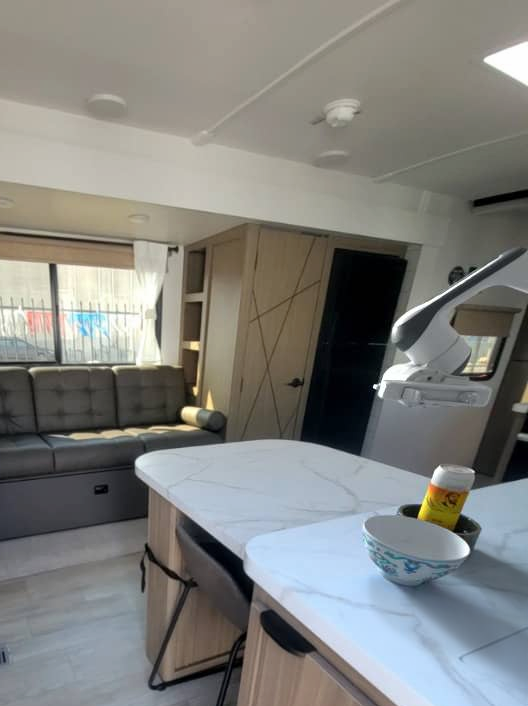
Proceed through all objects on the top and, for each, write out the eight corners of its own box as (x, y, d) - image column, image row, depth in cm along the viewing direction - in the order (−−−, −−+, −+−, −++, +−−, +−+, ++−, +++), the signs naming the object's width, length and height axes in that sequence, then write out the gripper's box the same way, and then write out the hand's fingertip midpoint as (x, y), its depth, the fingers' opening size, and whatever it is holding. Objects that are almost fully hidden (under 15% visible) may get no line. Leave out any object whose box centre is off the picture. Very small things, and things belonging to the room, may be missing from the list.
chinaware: (378, 600, 63) (393, 557, 59) (337, 550, 76) (348, 513, 73) (474, 603, 63) (495, 561, 59) (416, 553, 76) (430, 516, 73)
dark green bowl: (445, 530, 85) (455, 506, 83) (486, 564, 73) (499, 538, 71) (379, 524, 87) (387, 501, 84) (408, 557, 75) (418, 531, 72)
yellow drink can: (417, 545, 78) (445, 472, 71) (406, 531, 83) (431, 461, 77) (452, 550, 77) (484, 476, 70) (439, 535, 82) (467, 465, 75)
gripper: (374, 370, 92) (395, 378, 80) (474, 376, 89) (512, 385, 76) (366, 399, 95) (385, 410, 83) (463, 405, 91) (498, 419, 79)
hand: (447, 398), depth 80 cm, fingers open, 8 cm apart
